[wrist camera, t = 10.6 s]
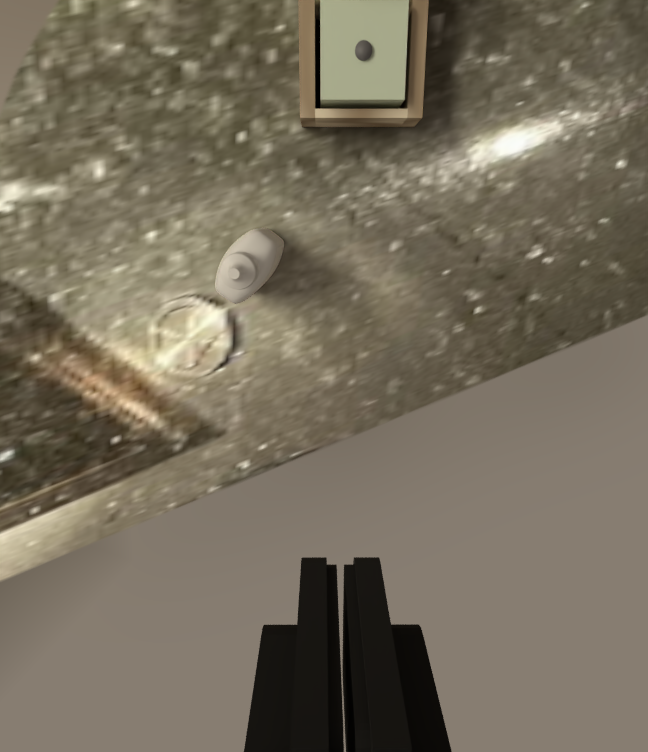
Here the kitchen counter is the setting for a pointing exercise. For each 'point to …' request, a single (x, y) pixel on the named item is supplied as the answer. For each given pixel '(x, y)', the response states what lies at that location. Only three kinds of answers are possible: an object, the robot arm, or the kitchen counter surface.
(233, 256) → the eye dropper bottle
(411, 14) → the tray
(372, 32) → the tile one sage
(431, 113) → the kitchen counter surface
